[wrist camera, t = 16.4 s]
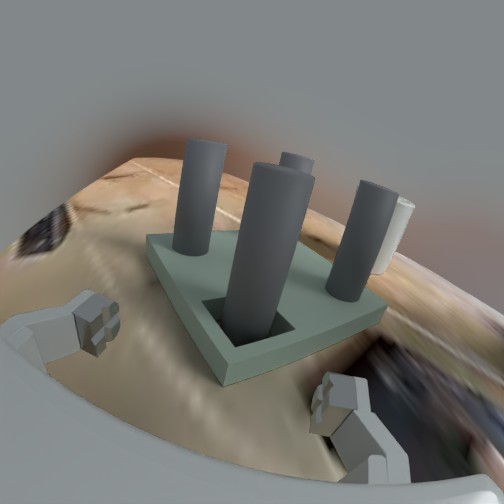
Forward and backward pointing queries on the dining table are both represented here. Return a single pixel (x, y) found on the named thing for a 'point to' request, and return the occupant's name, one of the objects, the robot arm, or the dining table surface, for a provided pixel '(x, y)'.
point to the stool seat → (297, 283)
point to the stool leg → (264, 250)
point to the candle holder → (393, 234)
